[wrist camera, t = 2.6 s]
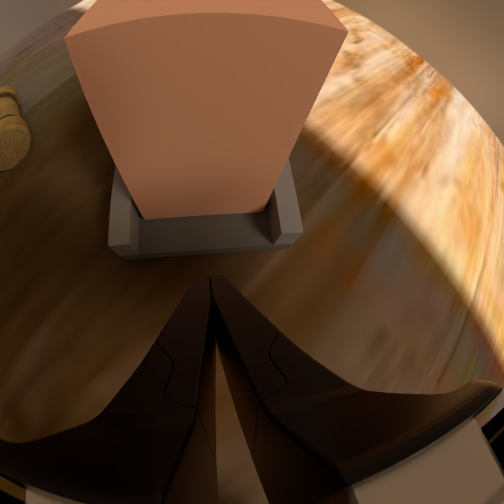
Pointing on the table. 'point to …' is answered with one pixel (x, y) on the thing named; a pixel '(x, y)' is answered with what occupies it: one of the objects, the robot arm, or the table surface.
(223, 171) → the block
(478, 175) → the table surface
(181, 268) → the table surface
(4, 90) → the gavel
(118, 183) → the gray tray
